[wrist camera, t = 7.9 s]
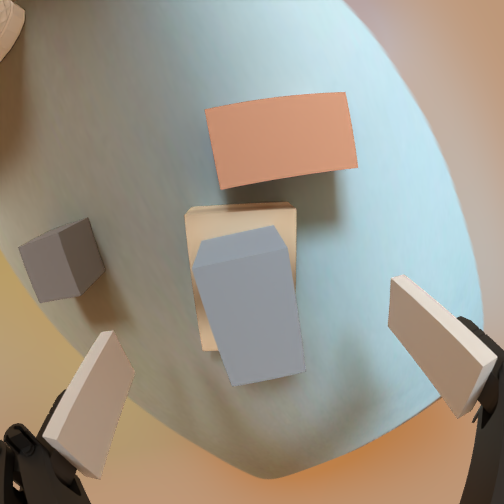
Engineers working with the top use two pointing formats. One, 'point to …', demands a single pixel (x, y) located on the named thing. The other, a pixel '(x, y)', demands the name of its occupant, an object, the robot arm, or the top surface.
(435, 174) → the top surface
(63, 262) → the charcoal block
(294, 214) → the maple block
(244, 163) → the terracotta block
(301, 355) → the blue block
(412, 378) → the top surface
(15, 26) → the white cup
